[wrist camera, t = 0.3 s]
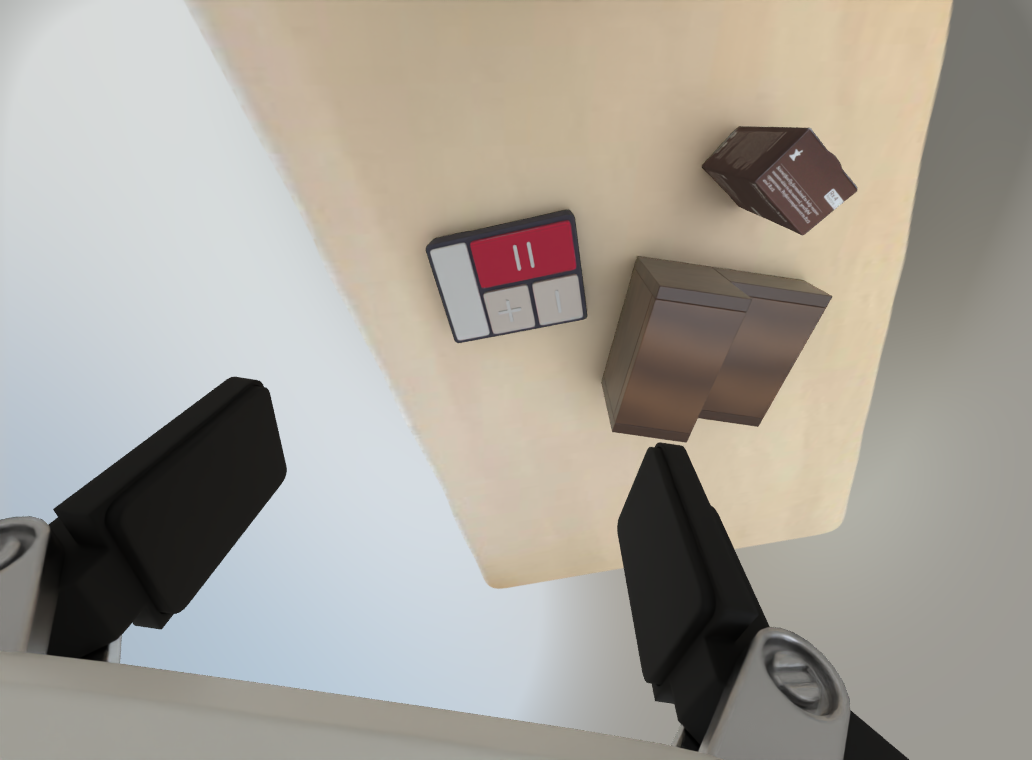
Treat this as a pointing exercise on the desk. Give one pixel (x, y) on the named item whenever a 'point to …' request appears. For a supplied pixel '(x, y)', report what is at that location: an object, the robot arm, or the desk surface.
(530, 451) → the desk surface
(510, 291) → the calculator
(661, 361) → the step shelf
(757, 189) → the box
